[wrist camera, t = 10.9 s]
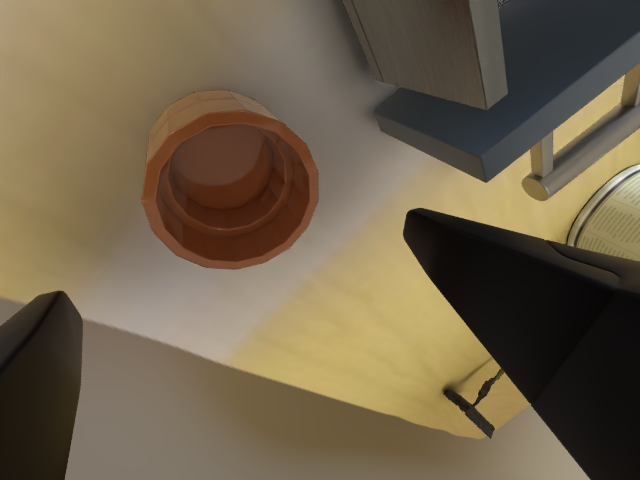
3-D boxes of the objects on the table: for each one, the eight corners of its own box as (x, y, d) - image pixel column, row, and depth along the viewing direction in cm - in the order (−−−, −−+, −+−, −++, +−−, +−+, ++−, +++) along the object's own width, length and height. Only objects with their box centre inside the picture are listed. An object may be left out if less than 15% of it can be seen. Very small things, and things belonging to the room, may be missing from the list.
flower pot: (303, 116, 15) (342, 142, 11) (265, 226, 17) (290, 273, 14) (159, 64, 11) (157, 80, 8) (139, 208, 14) (132, 263, 11)
